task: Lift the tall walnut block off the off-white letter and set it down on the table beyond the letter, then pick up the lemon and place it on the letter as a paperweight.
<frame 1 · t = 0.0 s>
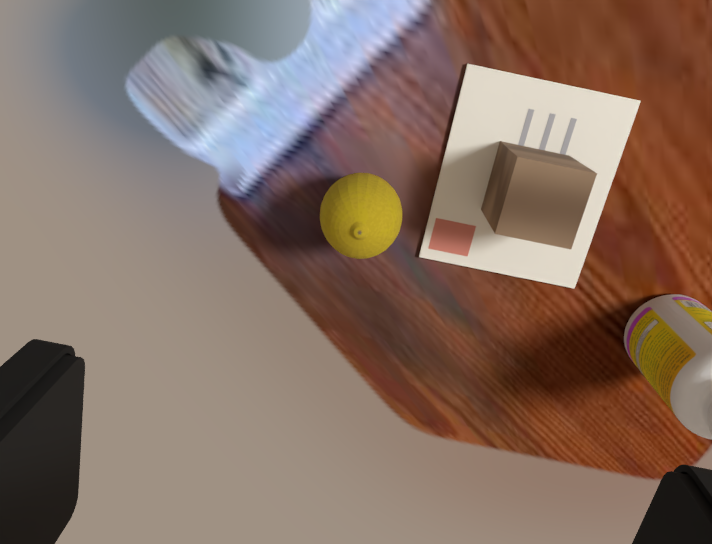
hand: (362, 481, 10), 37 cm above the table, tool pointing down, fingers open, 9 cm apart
supplement bottle: (663, 329, 49), on the table
lemon: (362, 199, 46), on the table
letter: (523, 181, 45), on the table
walnut block: (524, 182, 45), resting on letter
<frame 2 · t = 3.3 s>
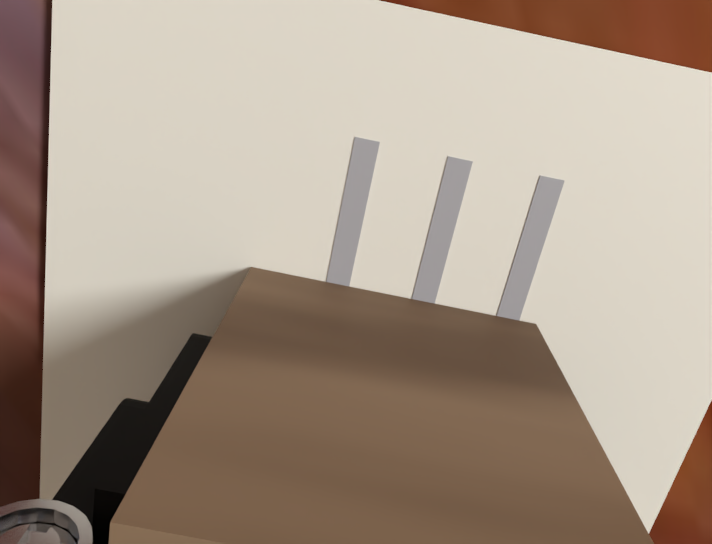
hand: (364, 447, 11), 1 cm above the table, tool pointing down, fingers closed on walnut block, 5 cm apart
letter: (365, 407, 12), on the table
walnut block: (365, 417, 12), resting on letter, touching gripper
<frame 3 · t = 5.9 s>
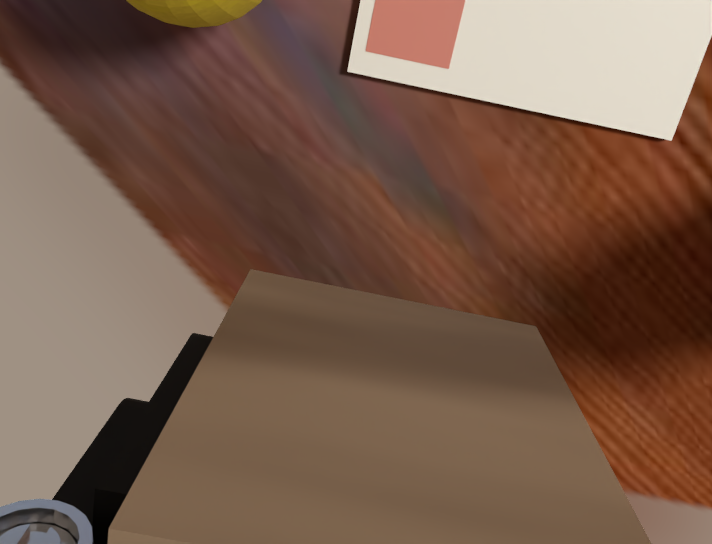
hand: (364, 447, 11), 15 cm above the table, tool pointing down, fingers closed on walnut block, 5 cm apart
walnut block: (365, 419, 12), point 14 cm above the table, touching gripper
when the fingers open (2 cm above the table, at t = 8.4 s): walnut block drops 1 cm, on the table.
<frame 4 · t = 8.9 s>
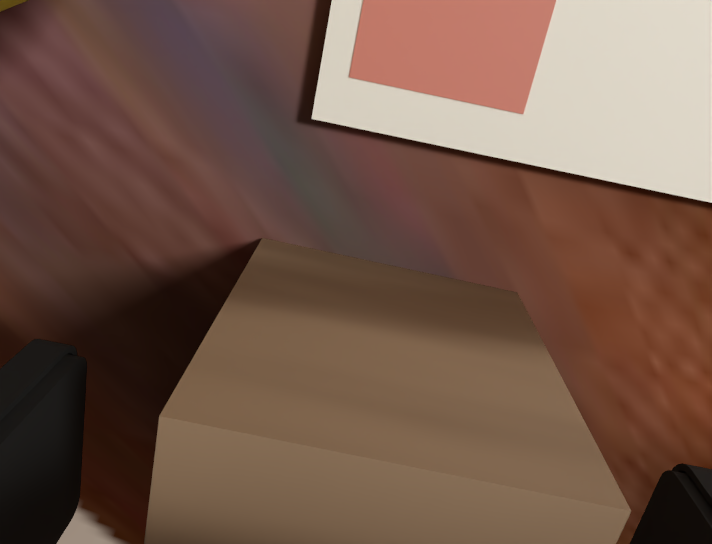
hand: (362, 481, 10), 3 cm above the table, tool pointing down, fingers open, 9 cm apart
walnut block: (363, 375, 13), on the table
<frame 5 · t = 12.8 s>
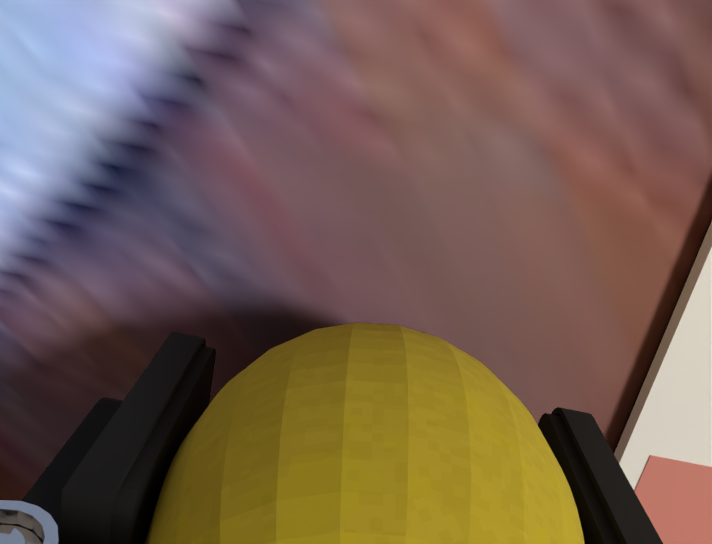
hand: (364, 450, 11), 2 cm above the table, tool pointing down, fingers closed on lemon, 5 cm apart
lemon: (370, 382, 12), on the table, touching gripper
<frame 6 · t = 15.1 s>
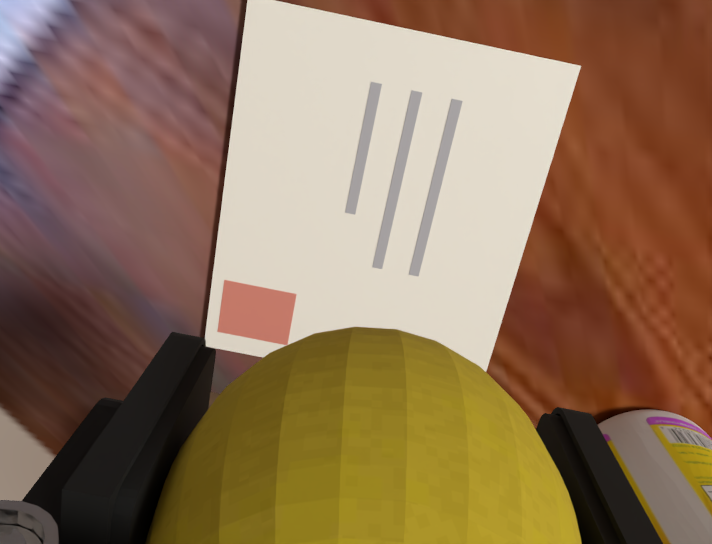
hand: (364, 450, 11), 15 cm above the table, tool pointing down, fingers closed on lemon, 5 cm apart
supplement bottle: (634, 462, 29), on the table
lemon: (369, 385, 12), point 13 cm above the table, touching gripper
letter: (375, 216, 25), on the table
when the fingers open (3 cm above the table, at t = 17.7 s): lemon stays where it is, resting on letter.
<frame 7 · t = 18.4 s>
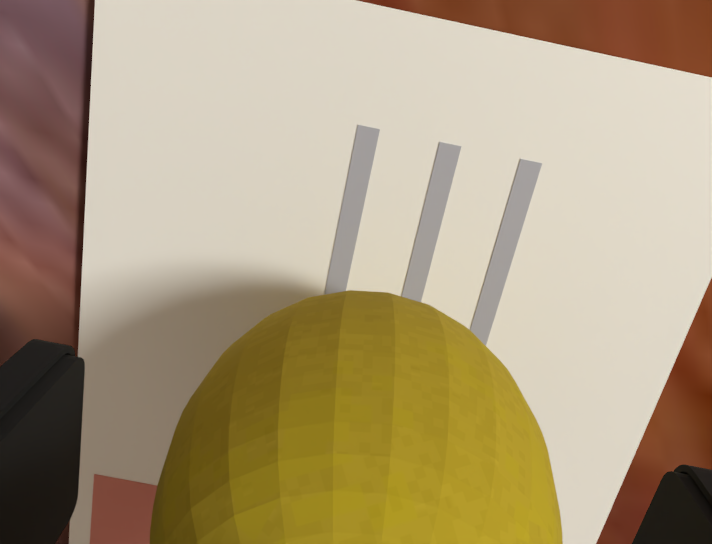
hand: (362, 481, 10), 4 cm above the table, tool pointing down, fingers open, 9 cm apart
lemon: (364, 353, 13), resting on letter
letter: (367, 369, 13), on the table
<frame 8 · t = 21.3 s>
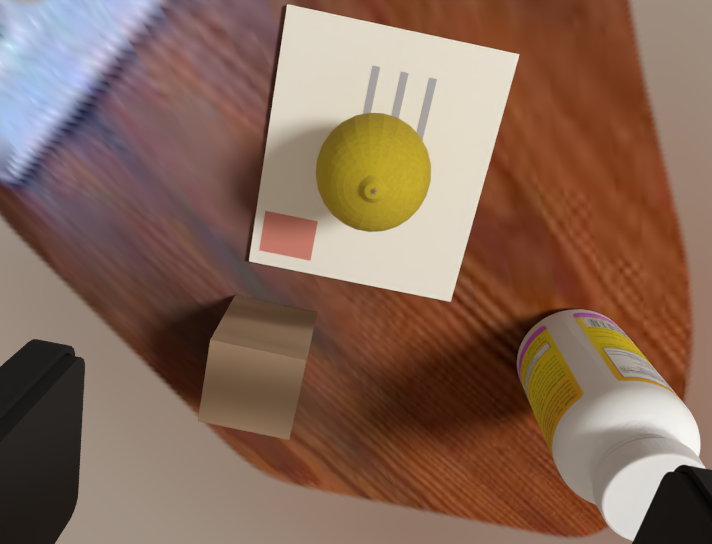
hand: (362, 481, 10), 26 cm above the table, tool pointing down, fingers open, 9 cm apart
supplement bottle: (569, 353, 39), on the table
lemon: (374, 156, 34), resting on letter
letter: (375, 163, 35), on the table
walnut block: (269, 339, 39), on the table
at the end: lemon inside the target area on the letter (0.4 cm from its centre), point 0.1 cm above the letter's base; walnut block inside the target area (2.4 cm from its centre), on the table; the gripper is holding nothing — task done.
